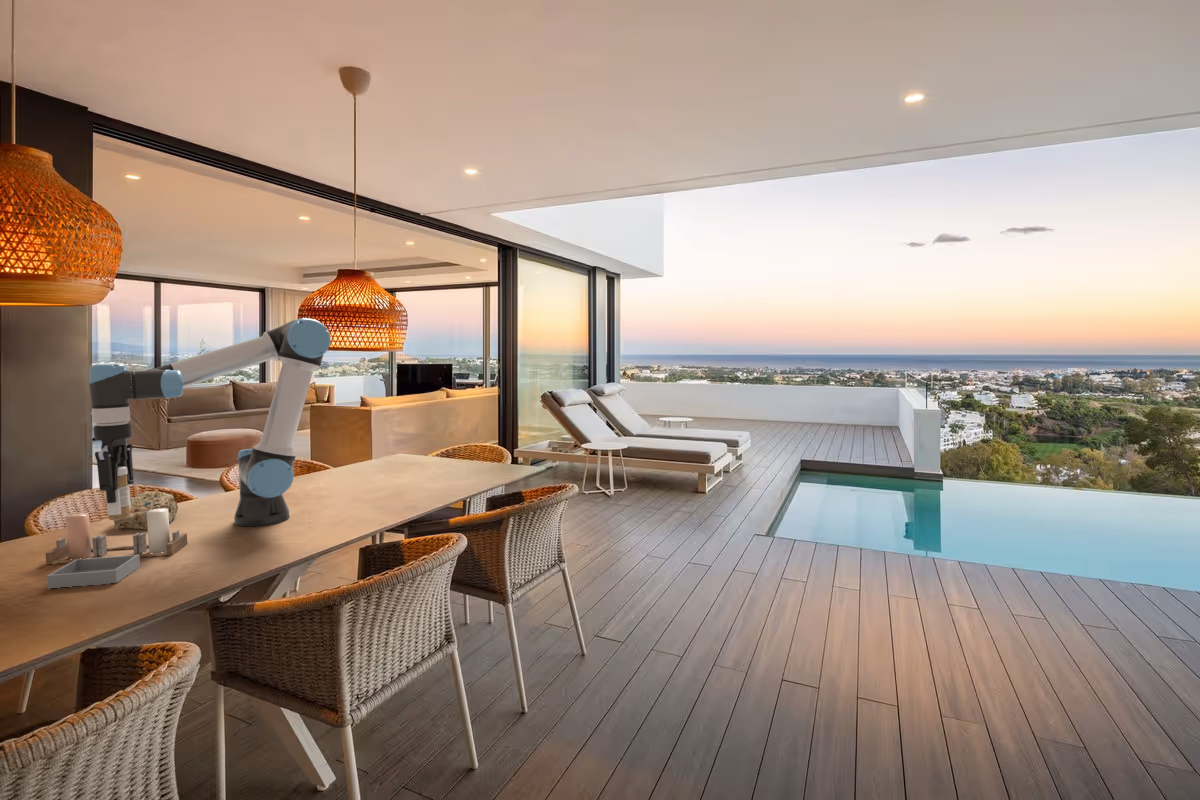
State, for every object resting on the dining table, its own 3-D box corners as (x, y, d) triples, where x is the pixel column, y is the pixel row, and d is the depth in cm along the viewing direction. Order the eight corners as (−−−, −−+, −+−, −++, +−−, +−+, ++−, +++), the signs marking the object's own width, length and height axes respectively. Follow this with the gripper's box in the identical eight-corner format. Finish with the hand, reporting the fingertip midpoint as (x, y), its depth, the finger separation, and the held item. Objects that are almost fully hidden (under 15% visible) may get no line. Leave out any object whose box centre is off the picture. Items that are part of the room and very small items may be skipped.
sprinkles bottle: (107, 518, 157) (102, 468, 156) (128, 514, 161) (124, 465, 160) (111, 521, 154) (106, 470, 153) (133, 517, 158) (128, 467, 157)
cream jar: (173, 547, 163) (171, 507, 162) (166, 553, 159) (163, 512, 158) (153, 549, 162) (151, 509, 161) (145, 554, 158) (143, 513, 157)
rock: (172, 530, 182) (160, 500, 180) (116, 547, 177) (103, 517, 175) (187, 507, 201) (176, 480, 198) (136, 522, 196) (124, 494, 193)
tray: (140, 566, 149) (139, 554, 148) (116, 583, 138) (115, 570, 138) (76, 571, 145) (75, 559, 145) (47, 589, 135) (46, 575, 134)
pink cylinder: (95, 553, 159) (92, 512, 158) (85, 558, 154) (82, 516, 153) (74, 554, 158) (71, 513, 157) (64, 560, 153) (61, 518, 152)
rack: (187, 543, 166) (186, 526, 166) (172, 555, 157) (171, 536, 157) (69, 552, 159) (68, 533, 159) (46, 564, 150) (44, 545, 150)
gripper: (112, 420, 163) (120, 504, 165) (75, 428, 146) (83, 522, 148) (144, 419, 165) (151, 502, 167) (111, 427, 148) (119, 519, 150)
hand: (119, 511), depth 158 cm, fingers closed on sprinkles bottle, 4 cm apart
